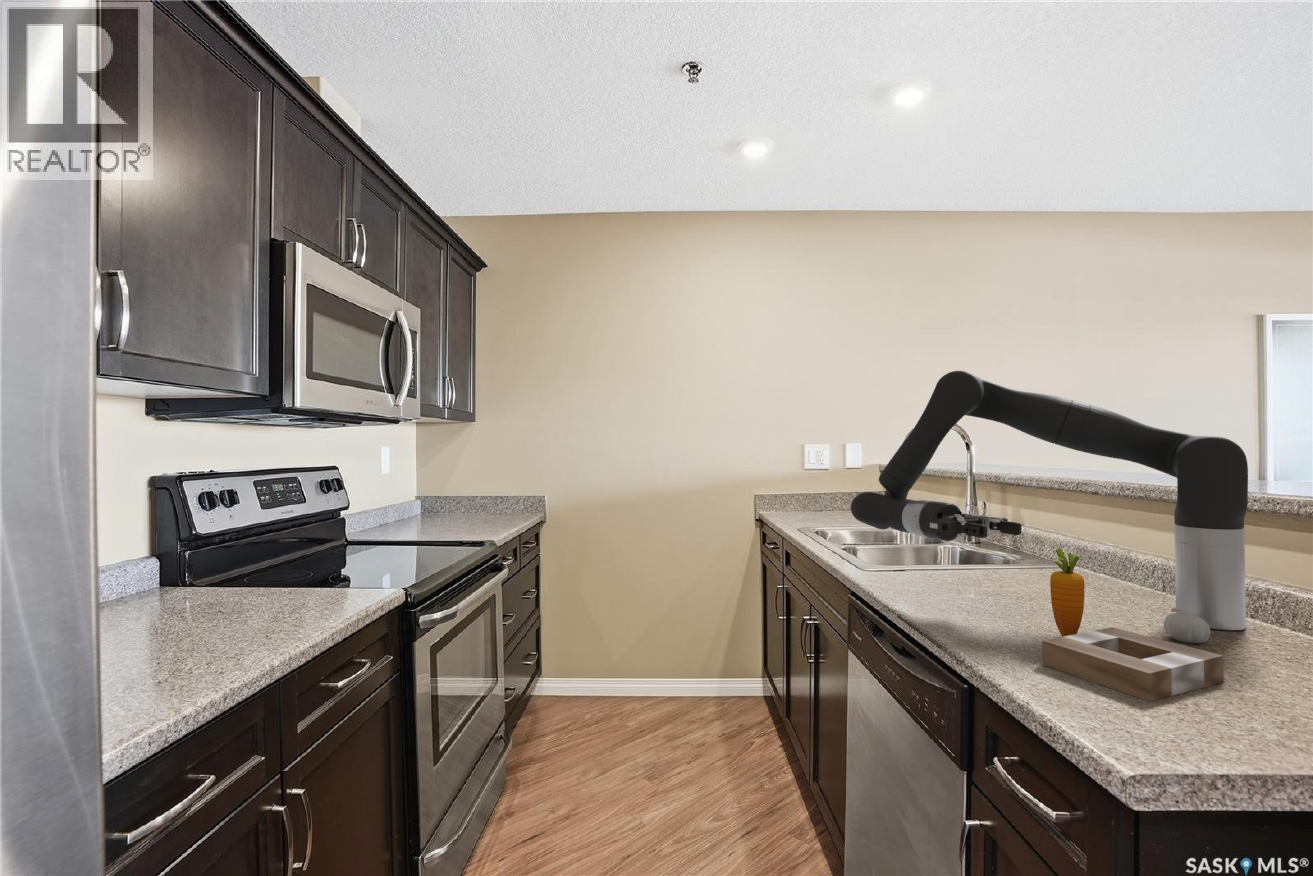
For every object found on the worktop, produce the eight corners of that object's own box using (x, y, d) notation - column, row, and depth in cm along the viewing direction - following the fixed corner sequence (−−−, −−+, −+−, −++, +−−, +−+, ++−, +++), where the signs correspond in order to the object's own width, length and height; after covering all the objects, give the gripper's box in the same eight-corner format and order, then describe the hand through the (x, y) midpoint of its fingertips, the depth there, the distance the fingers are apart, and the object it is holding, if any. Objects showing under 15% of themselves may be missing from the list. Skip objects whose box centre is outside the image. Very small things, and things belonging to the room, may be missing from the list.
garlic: (1155, 639, 101) (1155, 607, 101) (1171, 634, 104) (1170, 603, 104) (1201, 649, 96) (1201, 616, 96) (1216, 644, 98) (1216, 611, 98)
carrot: (1092, 648, 96) (1091, 552, 96) (1057, 647, 97) (1056, 552, 97) (1077, 638, 101) (1076, 547, 101) (1044, 637, 102) (1043, 546, 102)
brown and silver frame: (1113, 649, 96) (1112, 627, 96) (1223, 681, 83) (1223, 655, 83) (1042, 664, 90) (1042, 640, 90) (1150, 701, 77) (1149, 673, 77)
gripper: (904, 502, 122) (974, 511, 107) (957, 499, 127) (1031, 508, 112) (904, 540, 122) (974, 554, 107) (957, 536, 127) (1031, 549, 112)
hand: (1003, 530), depth 110 cm, fingers open, 8 cm apart
